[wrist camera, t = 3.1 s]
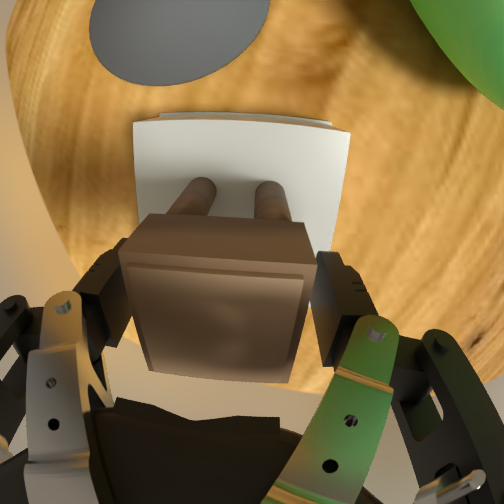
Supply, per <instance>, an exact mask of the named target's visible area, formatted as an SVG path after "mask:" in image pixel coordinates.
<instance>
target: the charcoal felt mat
mask: <svg viewBox="0 0 504 504" xmlns="http://www.w3.org/2000/svg"><path fill="white" fill-rule="evenodd" d="M269 4H270V0H96V1H95V3H94V6H93V9H92V12H91V17H90V25H89V33H90V40H91V45H92V48H93V50H94V53H95V55H96V56H97V58H98V59H99V61H100V62H101V63H102V65H103V66H104V67H105V68H106V69H107V70H109V71H110V72H111V73H112V74H114V75H116V76H118V77H119V78H121V79H124V80H126V81H129V82H132V83H136V84H140V85H149V86H169V85H177V84H182V83H186V82H191V81H193V80H196V79H199V78H202V77H205V76H207V75H209V74H211V73H213V72H215V71H217V70H219V69H220V68H222V67H224V66H226V65H227V64H228V63H230V62H231V61H233V60H234V59H235V58H237V57H238V56H239V55H240V54H241V53H242V52H243V51H244V50H246V48H247V47H248V46H249V45H250V44H251V43H252V42H253V41H254V39H255V38H256V36H257V35H258V33H259V32H260V30H261V28H262V26H263V24H264V22H265V20H266V17H267V14H268V10H269Z"/></svg>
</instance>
